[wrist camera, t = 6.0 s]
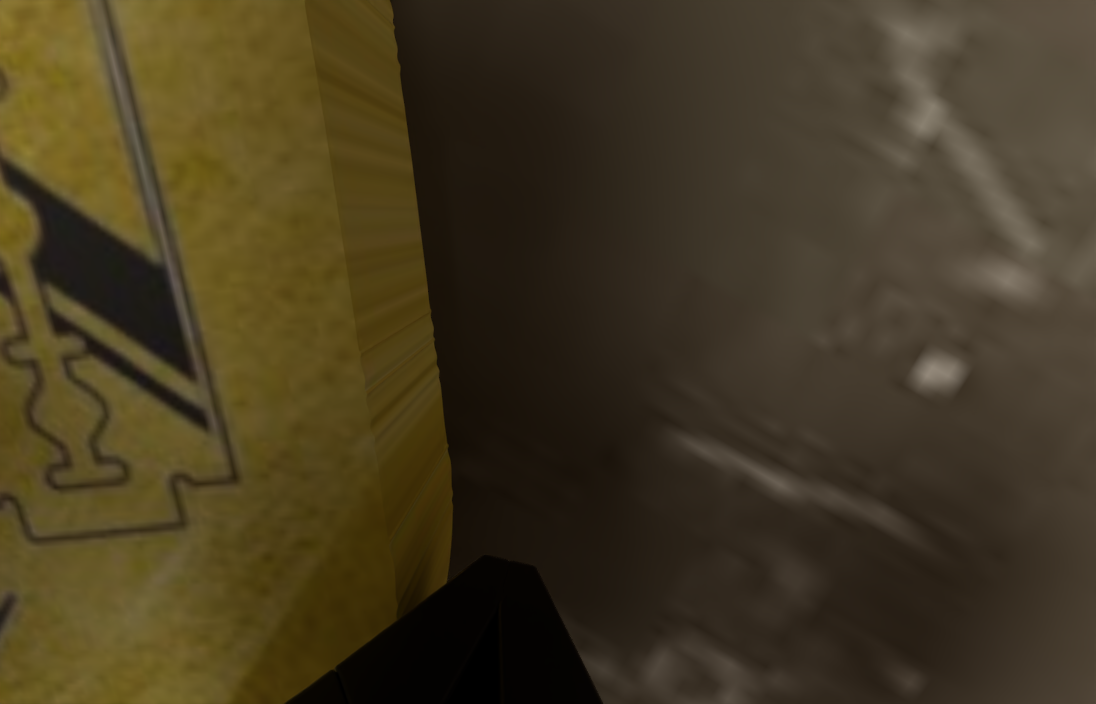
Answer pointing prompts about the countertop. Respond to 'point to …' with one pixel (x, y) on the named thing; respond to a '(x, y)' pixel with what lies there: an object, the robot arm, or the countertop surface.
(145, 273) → the sign
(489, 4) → the countertop surface
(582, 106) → the countertop surface
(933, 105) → the countertop surface
